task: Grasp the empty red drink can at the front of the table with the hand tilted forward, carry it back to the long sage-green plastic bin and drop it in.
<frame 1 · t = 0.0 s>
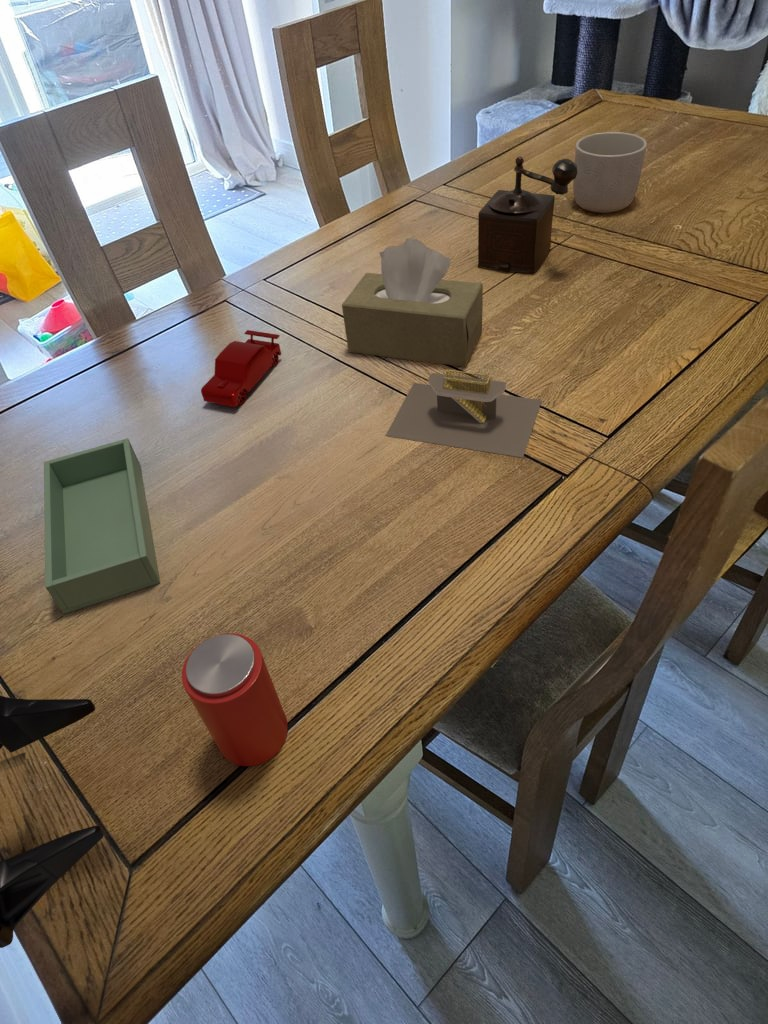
hand: (96, 763, 46), 15 cm above the table, tool horizontal, fingers open, 9 cm apart
planter: (602, 205, 133), on the table
can: (252, 732, 63), on the table
tissue box: (415, 343, 105), on the table
platform: (464, 418, 92), on the table
toy car: (246, 382, 102), on the table
manual coffee grinder: (527, 261, 120), on the table
bin: (105, 532, 82), on the table
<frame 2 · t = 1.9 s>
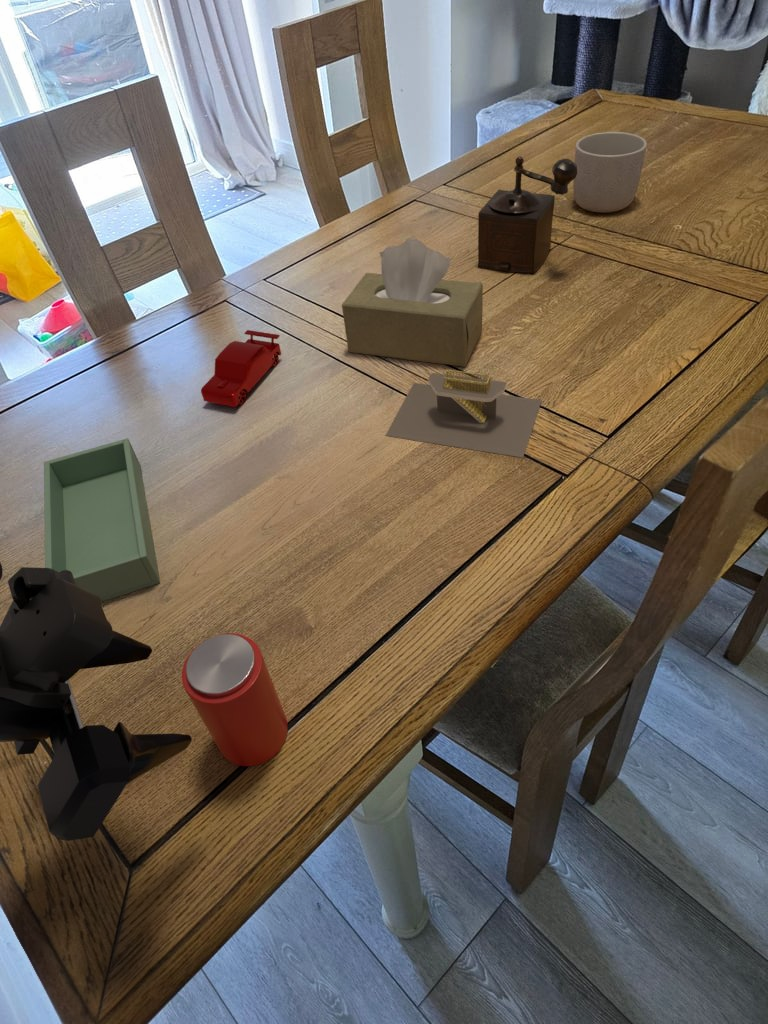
hand: (168, 695, 53), 11 cm above the table, tool tilted 45°, fingers open, 9 cm apart
nothing on the table moved.
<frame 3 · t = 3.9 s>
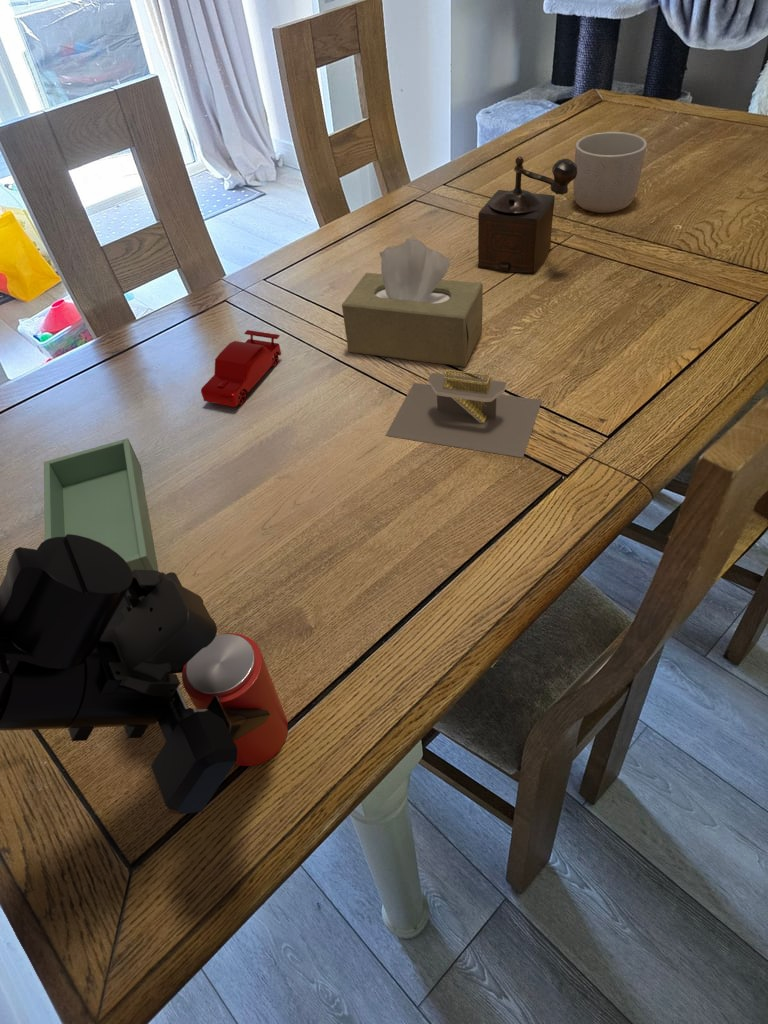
hand: (250, 686, 58), 7 cm above the table, tool tilted 45°, fingers closed on can, 6 cm apart
can: (253, 732, 63), on the table, touching gripper
everything else where it was.
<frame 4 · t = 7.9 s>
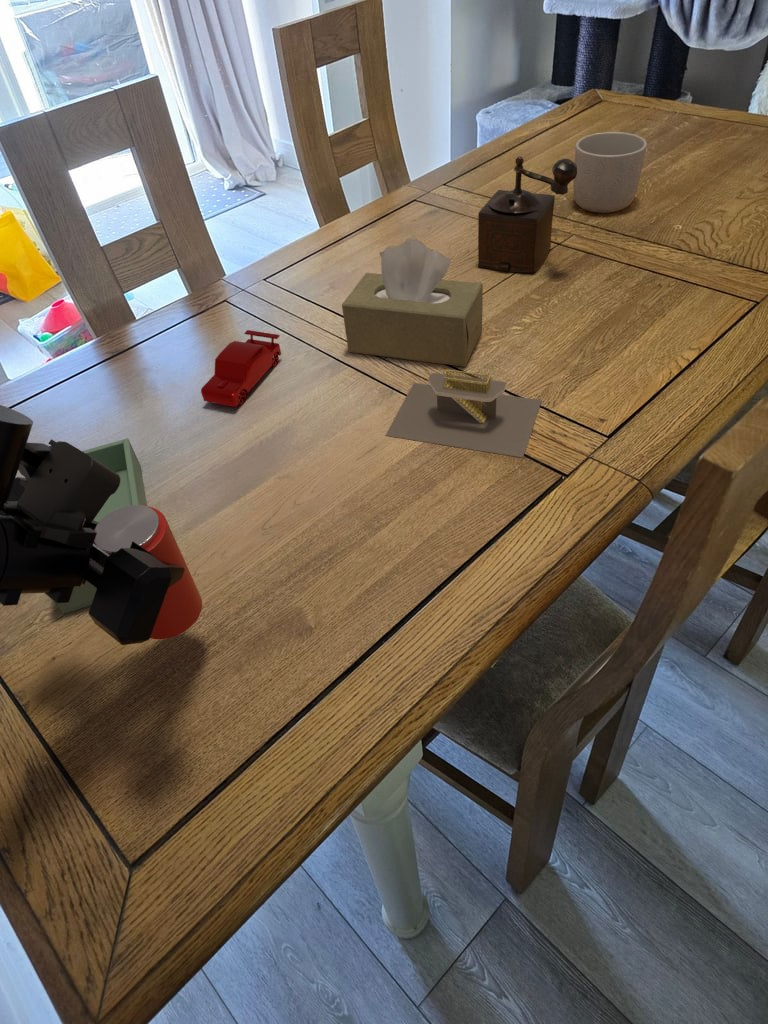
hand: (158, 556, 62), 13 cm above the table, tool tilted 45°, fingers closed on can, 6 cm apart
can: (168, 611, 66), point 6 cm above the table, touching gripper
everything else where it was.
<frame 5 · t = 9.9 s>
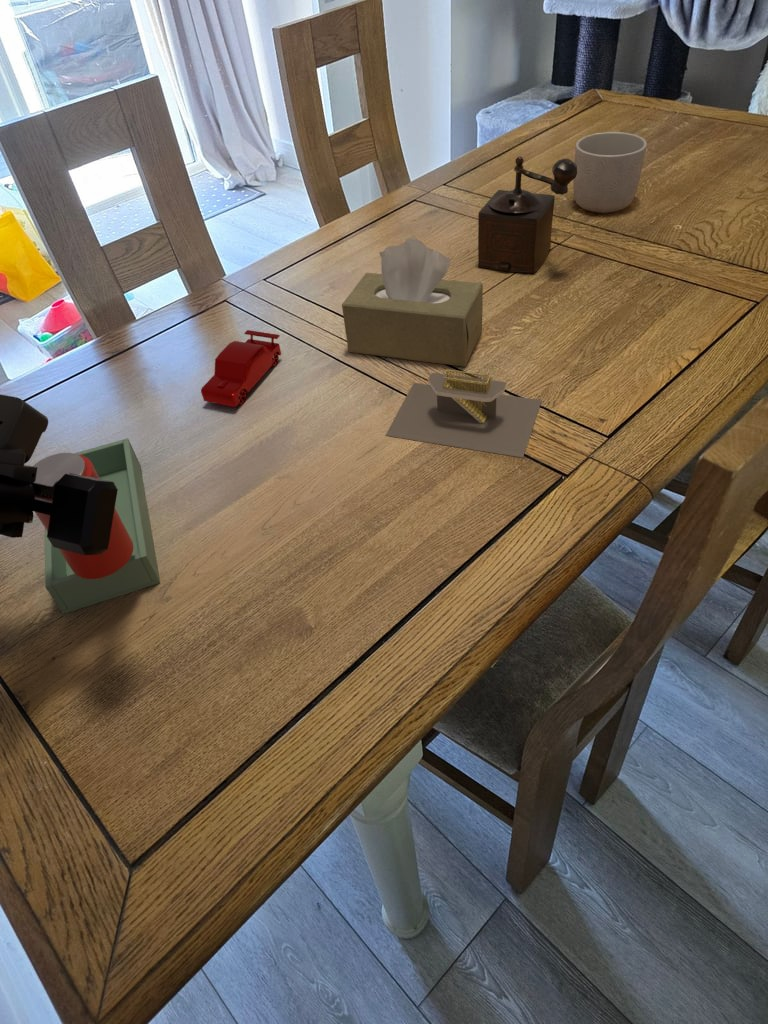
hand: (85, 500, 68), 13 cm above the table, tool tilted 45°, fingers closed on can, 6 cm apart
can: (102, 555, 71), point 6 cm above the table, touching gripper
everything else where it was.
when the fingers open (11 cm above the table, at t = 11.7 s): can stays where it is, resting on bin.
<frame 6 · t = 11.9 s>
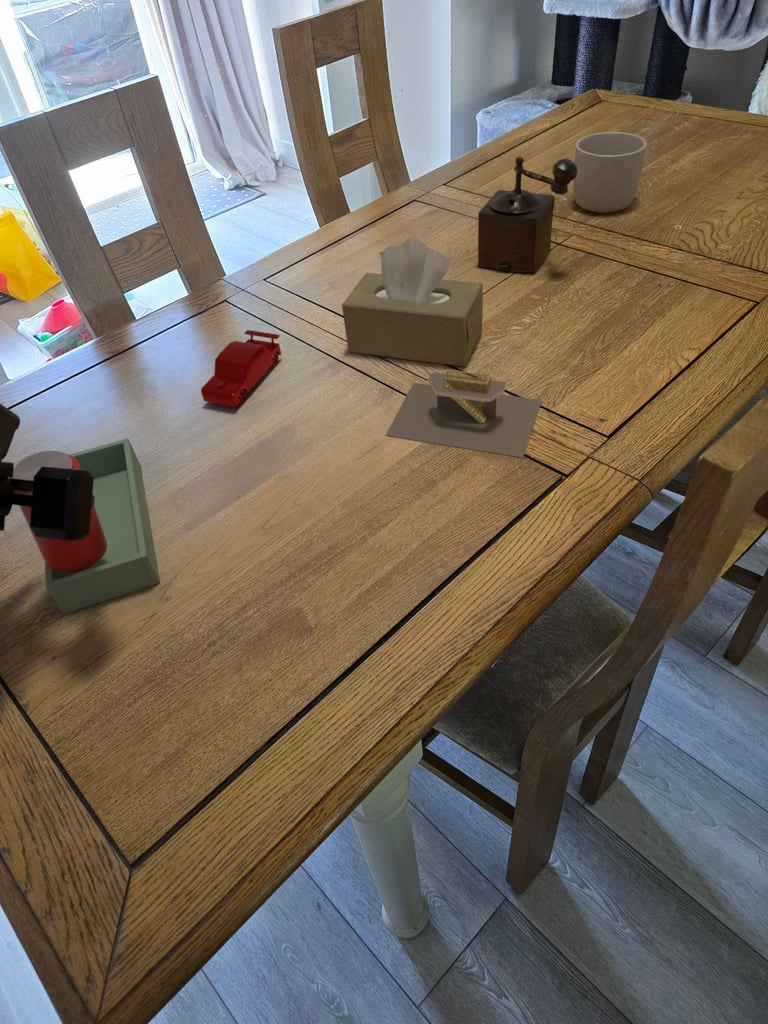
hand: (56, 496, 71), 11 cm above the table, tool tilted 45°, fingers open, 8 cm apart
can: (76, 551, 75), point 4 cm above the table, tilted 7°, touching bin, gripper
everything else where it was.
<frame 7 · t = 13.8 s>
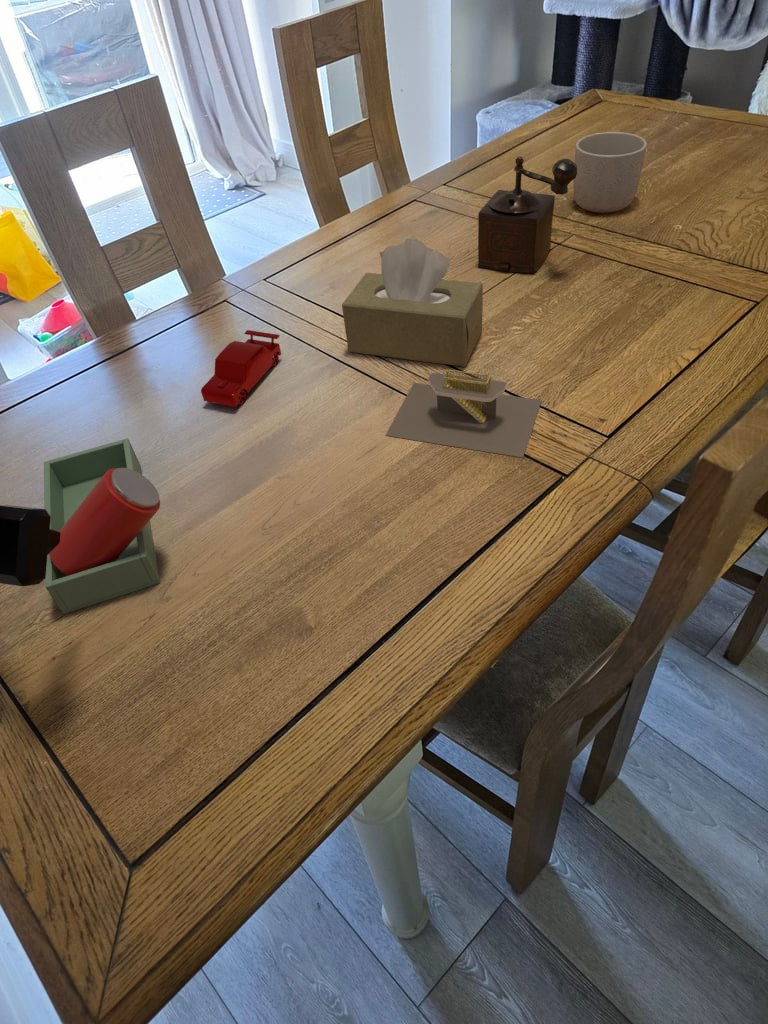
hand: (16, 532, 66), 12 cm above the table, tool tilted 45°, fingers open, 9 cm apart
can: (77, 559, 75), point 3 cm above the table, tilted 51°, touching bin
everything else where it was.
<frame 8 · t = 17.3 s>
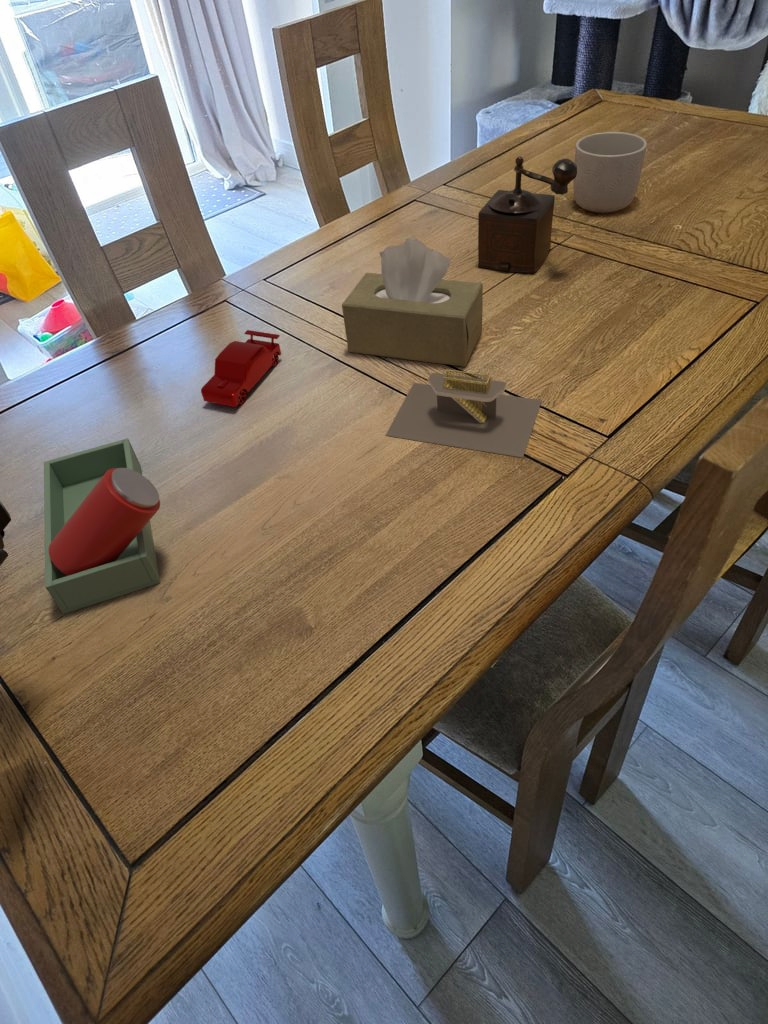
nothing on the table moved.
at the end: can inside the target area in the bin (6.9 cm from its centre), point 3.1 cm above the bin's base; the gripper is holding nothing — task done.
